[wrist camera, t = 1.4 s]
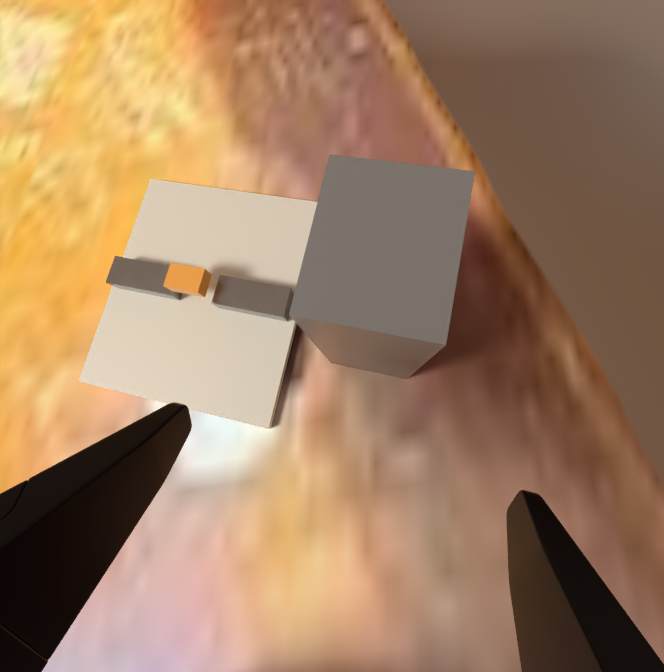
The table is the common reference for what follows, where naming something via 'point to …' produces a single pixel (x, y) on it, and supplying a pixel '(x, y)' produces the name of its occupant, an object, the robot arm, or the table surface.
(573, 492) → the table surface
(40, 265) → the table surface
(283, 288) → the din rail
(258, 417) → the board
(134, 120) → the table surface
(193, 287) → the block
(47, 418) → the table surface
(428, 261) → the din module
